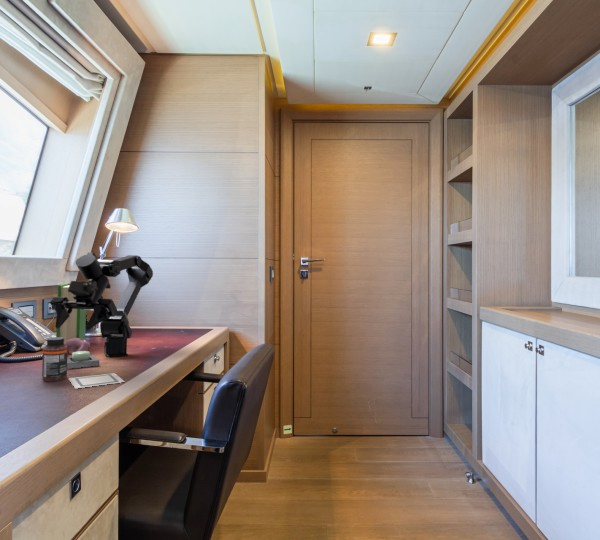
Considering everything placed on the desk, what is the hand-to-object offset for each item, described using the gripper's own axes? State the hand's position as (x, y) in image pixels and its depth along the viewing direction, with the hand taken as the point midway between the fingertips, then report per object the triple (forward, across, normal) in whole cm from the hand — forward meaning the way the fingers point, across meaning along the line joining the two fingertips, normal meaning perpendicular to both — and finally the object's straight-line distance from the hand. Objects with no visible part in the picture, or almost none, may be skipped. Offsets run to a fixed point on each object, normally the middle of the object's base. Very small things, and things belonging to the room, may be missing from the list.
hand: (71, 328), depth 122 cm
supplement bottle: (+14, 0, +4) cm, 15 cm away
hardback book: (-17, -23, +35) cm, 45 cm away
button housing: (+2, -3, +16) cm, 17 cm away
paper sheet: (+14, +12, +4) cm, 19 cm away
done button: (+1, -3, +15) cm, 16 cm away
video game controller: (-7, -14, +26) cm, 30 cm away
